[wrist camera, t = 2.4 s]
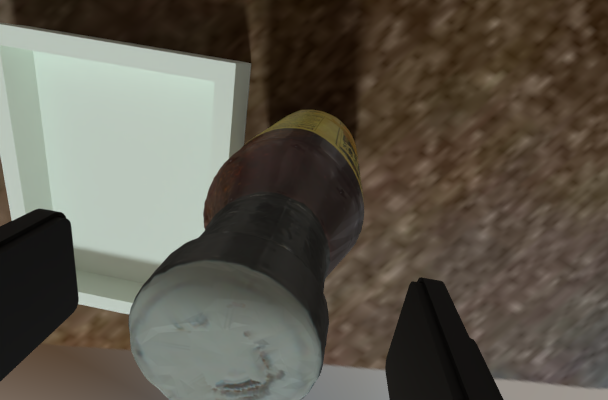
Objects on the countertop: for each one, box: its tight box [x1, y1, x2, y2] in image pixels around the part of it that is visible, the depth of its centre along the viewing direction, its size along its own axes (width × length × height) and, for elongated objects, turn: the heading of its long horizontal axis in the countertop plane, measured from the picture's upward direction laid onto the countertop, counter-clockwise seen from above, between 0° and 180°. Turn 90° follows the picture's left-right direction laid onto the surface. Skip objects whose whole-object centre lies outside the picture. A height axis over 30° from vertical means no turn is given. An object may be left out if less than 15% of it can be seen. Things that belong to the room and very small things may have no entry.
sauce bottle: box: [129, 110, 364, 400], centre depth 16 cm, size 6×6×20 cm
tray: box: [0, 23, 251, 314], centre depth 26 cm, size 16×20×4 cm
